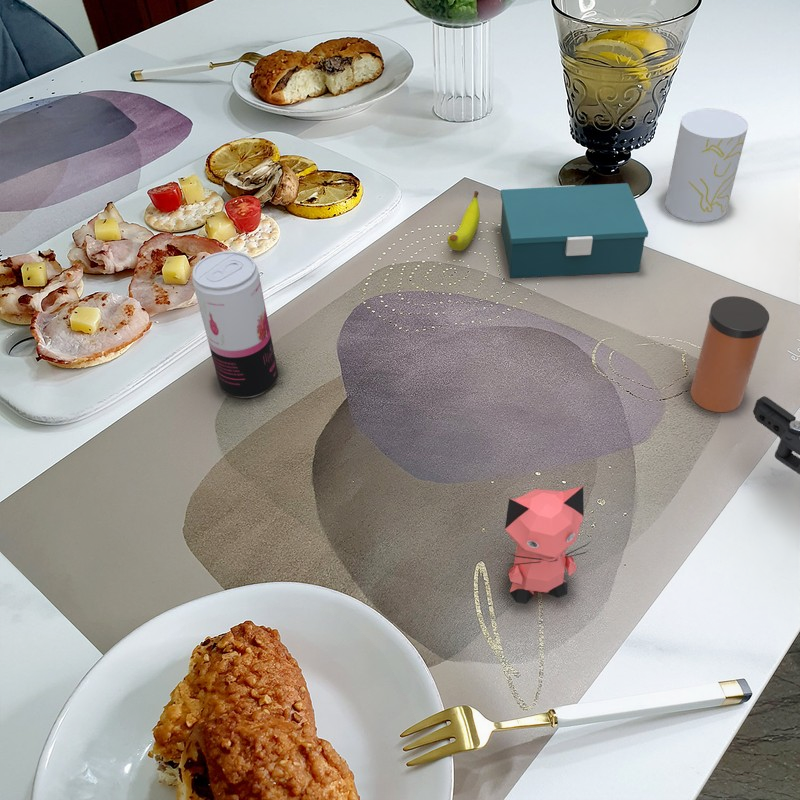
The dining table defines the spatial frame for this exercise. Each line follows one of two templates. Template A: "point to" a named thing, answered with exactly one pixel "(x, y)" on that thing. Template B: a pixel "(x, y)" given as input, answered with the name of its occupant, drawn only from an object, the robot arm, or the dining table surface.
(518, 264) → the lunchbox
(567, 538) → the cat figurine
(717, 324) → the tea tin
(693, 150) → the cup
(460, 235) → the fruit
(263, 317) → the beverage can
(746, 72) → the dining table surface
